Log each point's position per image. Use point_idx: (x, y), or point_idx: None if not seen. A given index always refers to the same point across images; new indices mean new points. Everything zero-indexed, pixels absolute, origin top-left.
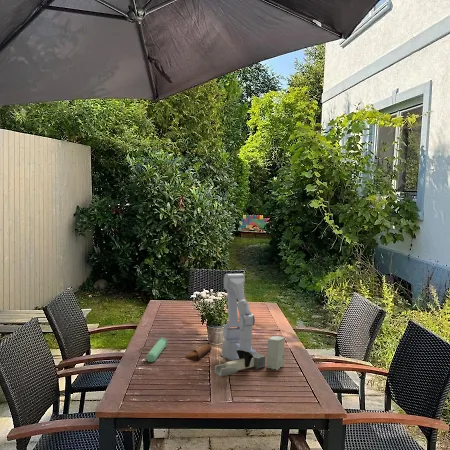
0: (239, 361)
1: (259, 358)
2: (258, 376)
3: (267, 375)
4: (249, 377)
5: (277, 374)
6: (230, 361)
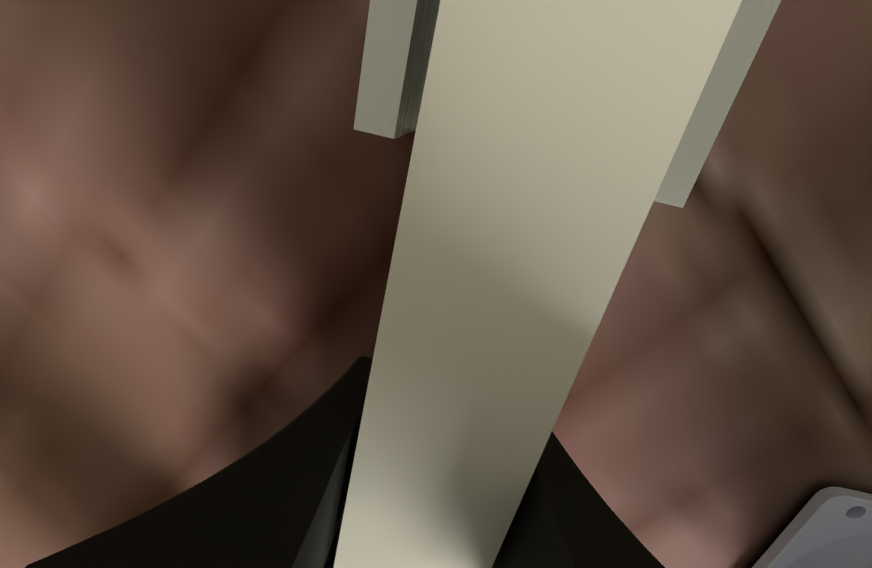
0: (418, 305)
1: None
2: (40, 258)
3: (25, 380)
4: (61, 91)
5: (9, 481)
6: (698, 35)
